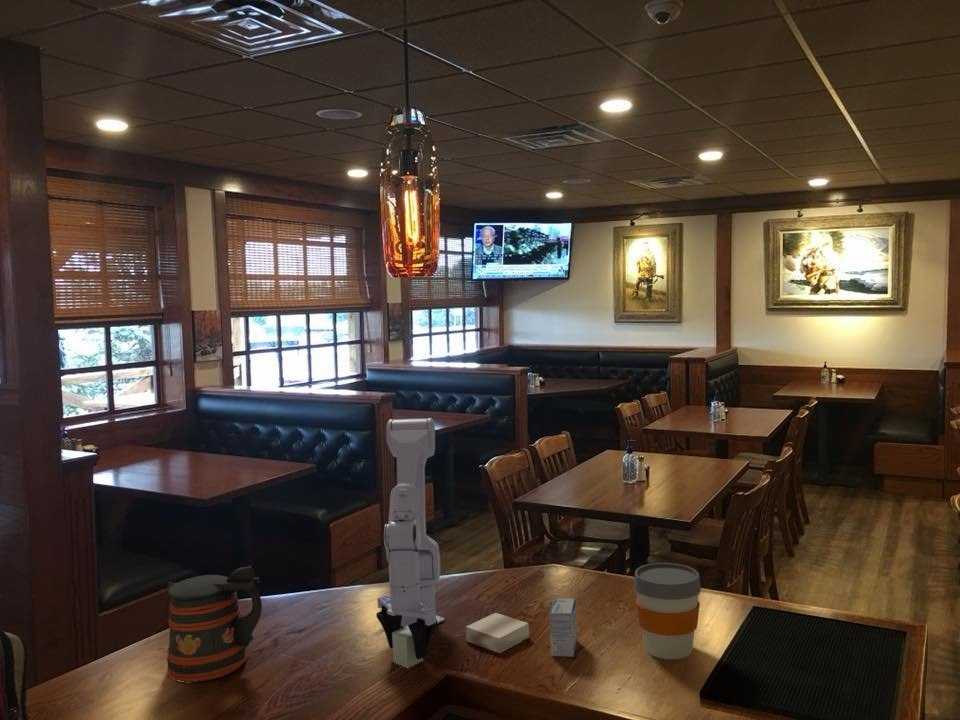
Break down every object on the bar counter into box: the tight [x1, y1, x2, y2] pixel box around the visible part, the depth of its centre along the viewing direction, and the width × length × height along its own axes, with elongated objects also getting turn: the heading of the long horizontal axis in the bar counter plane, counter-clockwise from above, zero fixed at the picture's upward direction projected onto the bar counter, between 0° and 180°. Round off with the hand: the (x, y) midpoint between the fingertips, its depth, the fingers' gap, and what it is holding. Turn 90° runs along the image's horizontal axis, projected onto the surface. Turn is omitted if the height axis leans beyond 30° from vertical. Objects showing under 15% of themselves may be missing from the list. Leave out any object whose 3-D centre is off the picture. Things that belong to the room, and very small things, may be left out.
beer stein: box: [166, 565, 263, 683], centre depth 153 cm, size 19×15×20 cm
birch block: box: [465, 612, 530, 654], centre depth 161 cm, size 9×9×3 cm
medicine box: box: [549, 597, 578, 658], centre depth 155 cm, size 8×4×9 cm, turn 168°
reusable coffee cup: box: [633, 562, 702, 660], centre depth 153 cm, size 12×13×15 cm
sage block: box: [392, 626, 424, 669], centre depth 152 cm, size 4×4×6 cm
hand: (407, 651), depth 152 cm, fingers open, 7 cm apart
